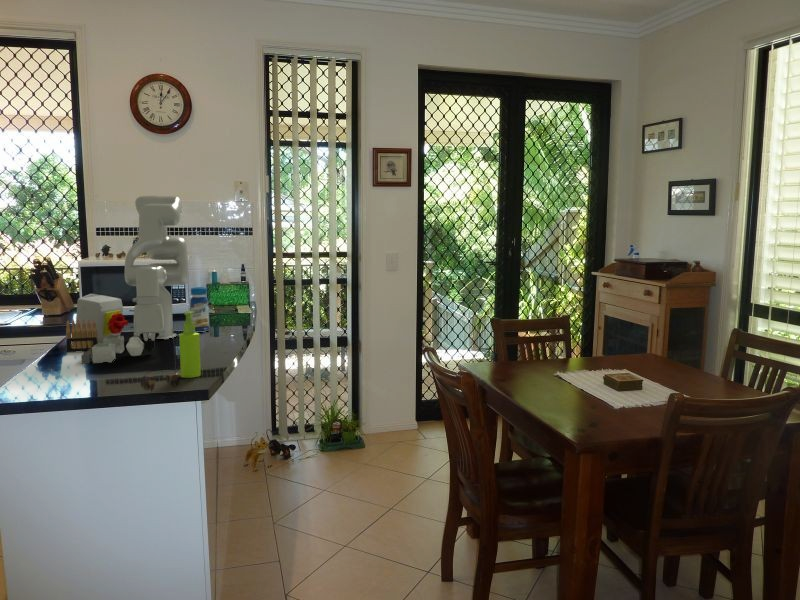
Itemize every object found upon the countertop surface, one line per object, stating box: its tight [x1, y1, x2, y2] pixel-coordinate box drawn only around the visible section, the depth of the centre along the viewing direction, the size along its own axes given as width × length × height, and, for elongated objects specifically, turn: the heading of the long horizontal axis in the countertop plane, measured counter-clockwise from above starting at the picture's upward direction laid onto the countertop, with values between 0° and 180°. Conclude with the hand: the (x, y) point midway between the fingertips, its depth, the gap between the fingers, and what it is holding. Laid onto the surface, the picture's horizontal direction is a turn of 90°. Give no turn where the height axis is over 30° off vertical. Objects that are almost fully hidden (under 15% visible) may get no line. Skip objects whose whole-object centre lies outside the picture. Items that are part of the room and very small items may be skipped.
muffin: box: [125, 335, 145, 357], centre depth 225 cm, size 6×6×7 cm
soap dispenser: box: [178, 310, 202, 379], centre depth 192 cm, size 6×7×20 cm
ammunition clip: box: [65, 319, 98, 353], centre depth 233 cm, size 11×2×12 cm, turn 108°
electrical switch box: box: [75, 293, 129, 345], centre depth 251 cm, size 15×15×20 cm
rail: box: [80, 334, 125, 365], centre depth 222 cm, size 24×9×6 cm, turn 14°
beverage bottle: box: [189, 286, 211, 331], centre depth 278 cm, size 8×8×20 cm
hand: (150, 351), depth 226 cm, fingers closed
